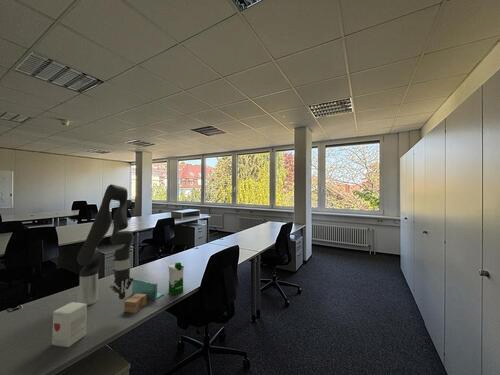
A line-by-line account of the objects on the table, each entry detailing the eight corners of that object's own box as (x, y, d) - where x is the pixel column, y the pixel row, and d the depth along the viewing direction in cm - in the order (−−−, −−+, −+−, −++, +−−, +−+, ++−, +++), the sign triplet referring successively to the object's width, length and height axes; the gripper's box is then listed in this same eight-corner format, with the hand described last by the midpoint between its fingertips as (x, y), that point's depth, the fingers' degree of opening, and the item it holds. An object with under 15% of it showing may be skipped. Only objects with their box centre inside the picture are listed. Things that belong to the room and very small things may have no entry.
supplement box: (51, 345, 96) (51, 311, 97) (70, 332, 105) (71, 301, 106) (68, 347, 95) (69, 313, 95) (86, 334, 104) (87, 303, 104)
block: (135, 313, 123) (135, 302, 123) (124, 312, 124) (124, 301, 124) (146, 304, 133) (146, 294, 133) (136, 303, 134) (136, 293, 134)
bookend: (154, 300, 137) (155, 284, 137) (132, 294, 145) (132, 279, 145) (163, 294, 144) (164, 279, 144) (141, 289, 152) (142, 275, 152)
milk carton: (173, 296, 142) (174, 265, 142) (166, 292, 148) (166, 262, 148) (185, 291, 149) (185, 262, 149) (177, 288, 155) (178, 259, 155)
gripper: (115, 272, 112) (115, 306, 112) (137, 264, 125) (137, 294, 125) (105, 270, 115) (105, 303, 115) (127, 262, 128) (127, 292, 127)
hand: (122, 298), depth 120 cm, fingers closed
